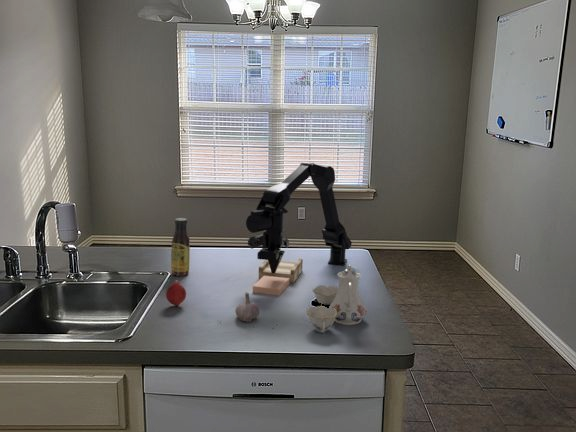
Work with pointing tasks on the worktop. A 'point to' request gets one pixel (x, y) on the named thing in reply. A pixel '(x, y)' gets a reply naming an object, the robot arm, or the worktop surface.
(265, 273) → the birch box
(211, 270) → the worktop surface
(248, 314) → the garlic bulb
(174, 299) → the onion
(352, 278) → the chinaware
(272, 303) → the worktop surface
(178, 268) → the sauce bottle
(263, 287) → the cover plate
